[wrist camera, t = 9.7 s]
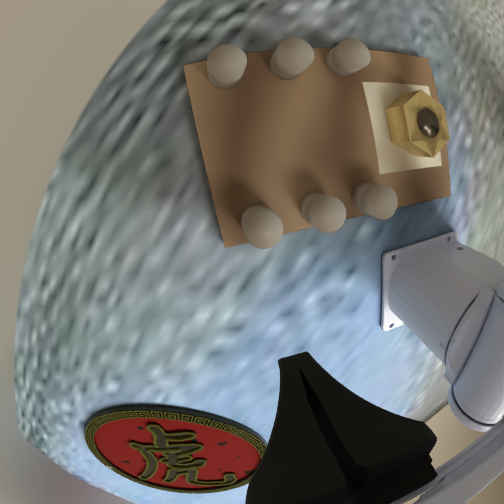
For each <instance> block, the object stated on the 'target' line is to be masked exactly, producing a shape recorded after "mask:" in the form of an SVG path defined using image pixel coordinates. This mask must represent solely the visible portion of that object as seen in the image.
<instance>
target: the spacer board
mask: <svg viewBox="0 0 504 504" xmlns="http://www.w3.org/2000/svg"><path fill="white" fill-rule="evenodd" d="M183 67H184V72H185V77H186V82H187V87H188V92H189V96H190V101H191V106H192V110H193V115H194V120H195V124H196V129H197V133H198V138H199V142H200V146H201V151H202V155H203V159H204V164H205V168H206V172H207V177H208V181H209V185H210V189H211V193H212V197H213V202H214V206H215V210H216V214H217V218H218V222H219V226H220V230H221V234H222V238H223V242H224V246H225V248H227V247H231V246H235V245H239V244H243V243H247V242H249V243H250V244H251V245H253V246H255V247H257V248H261V249H266V248H270V247H272V246H274V245H275V244H277V243H278V242H279V240H280V239H281V237H282V234H285V233H289V232H294V231H298V230H302V229H306V228H311V227H315V228H317V229H318V230H320V231H321V232H324V233H332V232H335V231H337V230H338V229H340V228H341V227H342V225H343V224H344V222H345V219H350V218H354V217H358V216H363V215H367V214H368V215H371V216H373V217H375V218H378V219H381V220H386V219H389V218H390V217H391V216H393V214H394V213H395V211H396V209H397V208H398V207H403V206H407V205H412V204H416V203H421V202H425V201H430V200H434V199H439V198H444V197H448V196H451V193H450V175H449V163H448V154H447V145H446V144H445V145H444V147H443V148H442V149H441V150H440V151H439V152H438V153H437V155H436V156H435V157H434V158H431V157H417V156H413V155H411V154H410V153H408V152H406V151H405V150H403V149H401V148H400V147H398V146H396V145H395V144H393V143H391V141H390V135H389V130H388V125H387V120H386V115H385V110H384V109H385V108H387V107H388V106H389V105H390V104H391V103H392V102H394V101H395V100H396V99H397V98H398V97H399V96H401V95H402V94H404V93H408V92H412V91H417V90H423V91H424V92H425V93H427V94H428V95H429V96H431V97H432V98H433V99H434V100H436V101H437V102H438V103H439V99H438V95H437V90H436V86H435V82H434V78H433V75H432V71H431V68H430V64H429V61H428V58H423V57H418V56H413V55H407V54H400V53H393V52H385V51H375V50H368V48H367V47H366V46H365V45H364V44H363V43H362V42H361V41H359V40H357V39H354V38H346V39H344V40H343V41H342V42H340V43H339V44H338V45H337V46H336V47H334V48H312V47H311V46H310V45H309V44H308V43H307V42H306V41H304V40H302V39H300V38H296V37H290V38H286V39H284V40H282V41H281V42H280V43H279V45H278V47H277V48H276V50H271V51H261V52H253V53H246V54H245V53H244V51H243V50H242V49H240V48H239V47H237V46H234V45H230V44H225V45H220V46H217V47H215V48H214V49H213V50H212V51H211V52H210V53H209V55H208V57H207V60H206V61H201V62H197V63H192V64H188V65H184V66H183Z"/></svg>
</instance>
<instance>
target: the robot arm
mask: <svg viewBox="0 0 504 504" xmlns="http://www.w3.org/2000/svg"><path fill="white" fill-rule="evenodd" d="M447 239H448V240H447ZM393 255H394V257H393V259H392V256H393ZM382 268H383V291H382V321H381V329H382V330H383V331H388V330H391V329H393V328H395V327H398V326H400V325H403V324H405V325H406V326H407V327H408V328H409V329H410V330H411V331H412V332H413V333H414V334H415V335H416V336H417V337H418V338H419V339H420V340H421V341H422V342H423V343H424V344H425V345H426V346H427V347H428V348H429V349H430V350H431V351H432V352H433V353H434V354H435V355H436V356H437V357H438V358H439V359H440V360H441V361H442V362H443V363H444V364H445V365H446V371H445V373H444V377H445V378H446V379H447V381H448V382H449V383H450V384H451V385H450V387H449V390H448V402H449V405H450V408H451V410H452V412H453V413H454V415H455V416H456V417H457V419H458V420H459V421H460V422H461V423H463V424H464V425H465V426H467V427H469V428H471V429H473V430H476V431H481V432H486V433H485V434H483V435H482V436H481V437H480V438H478V439H477V440H476V441H475V442H474V443H472V444H471V445H470V446H468V447H467V448H466V449H464V450H463V451H462V452H460V453H459V454H457V455H456V456H455V457H453V458H452V459H450V460H449V461H447V462H446V463H444V464H443V465H441V466H440V467H438V468H436V469H434V467H433V466H432V465H431V462H432V459H431V457H430V455H429V453H430V452H431V450H432V449H433V447H434V445H435V444H436V441H437V437H436V436H435V434H434V433H433V432H432V430H431V429H430V428H429V427H428V426H427V425H426V424H425V423H424V422H421V421H417V420H413V419H409V418H406V417H403V416H400V415H397V414H394V413H391V412H389V411H387V410H385V409H382V408H380V407H378V406H376V405H374V404H372V403H370V402H368V401H366V400H364V399H363V398H361V397H359V396H358V395H356V394H355V393H353V392H352V391H350V390H349V389H347V388H346V387H345V386H343V385H342V384H341V383H339V382H338V381H337V380H336V379H335V378H333V377H332V376H331V375H330V374H329V373H328V372H327V371H325V370H324V369H323V368H322V367H321V366H320V365H319V364H318V363H317V362H316V361H315V359H314V358H313V357H312V356H311V355H310V354H309V353H308V352H303V353H299V354H296V355H292V356H288V357H285V358H281V359H279V360H278V364H279V369H280V392H279V401H278V407H277V413H276V418H275V422H274V426H273V429H272V433H271V436H270V439H269V442H268V444H267V447H266V449H265V452H264V454H263V456H262V459H261V461H260V463H259V465H258V467H257V469H256V471H255V473H254V474H253V476H252V478H251V480H250V482H249V486H248V490H247V495H246V504H403V503H405V502H407V501H409V500H411V499H413V498H414V497H416V496H418V495H420V494H422V493H423V492H425V491H427V490H428V489H430V488H431V489H430V490H428V491H427V492H425V493H424V494H422V495H421V496H420V498H419V499H418V500H417V501H416V502H415V503H413V504H465V503H467V502H468V501H469V500H470V499H472V498H473V497H474V496H476V495H477V494H478V493H479V492H481V491H482V490H483V489H484V488H485V487H486V486H487V485H489V484H490V483H491V482H492V481H493V480H494V479H495V478H497V477H498V476H499V475H500V474H501V473H502V472H503V471H504V267H503V266H502V265H501V264H500V263H499V262H498V261H496V260H495V259H493V258H491V257H489V256H487V255H485V254H482V253H480V252H478V251H476V250H474V249H472V248H470V247H468V246H466V245H463V244H461V243H459V242H458V233H457V232H455V231H453V232H450V233H447V234H444V235H441V236H438V237H434V238H431V239H428V240H425V241H422V242H419V243H416V244H412V245H409V246H406V247H403V248H399V249H396V250H393V251H390V252H387V253H385V254H384V255H383V258H382ZM391 323H392V324H391ZM390 324H391V325H390ZM433 486H434V487H433ZM432 487H433V488H432Z"/></svg>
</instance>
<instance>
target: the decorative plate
mask: <svg viewBox="0 0 504 504" xmlns="http://www.w3.org/2000/svg"><path fill="white" fill-rule="evenodd" d="M84 435H85V440H86V443H87V445H88V447H89V449H90V451H91V452H92V453H93V454H94V456H95V457H96V458H97V459H98V460H100V462H102V463H103V464H104V465H105V466H107V467H108V468H109V469H111V470H113V471H114V472H116V473H117V474H120V475H121V476H123V477H125V478H127V479H129V480H132V481H134V482H137V483H139V484H142V485H145V486H148V487H152V488H156V489H160V490H166V491H171V492H179V493H212V492H213V493H214V492H221V491H226V490H230V489H234V488H238V487H241V486H243V485H246V484H248V483H249V482H250V480H251V478H252V476H253V474H254V473H255V471H256V469H257V467H258V465H259V463H260V461H261V459H262V456H263V454H264V452H265V449H266V447H267V442H266V441H265V440H264V438H263V437H262V436H260V435H259V434H258V433H256V432H255V431H253V430H252V429H250V428H248V427H246V426H244V425H242V424H240V423H238V422H235V421H233V420H230V419H227V418H224V417H221V416H217V415H214V414H210V413H206V412H201V411H196V410H191V409H185V408H179V407H171V406H161V405H124V406H117V407H112V408H108V409H105V410H102V411H100V412H98V413H96V414H95V415H93V416H92V417H91V418H90V419H89V421H88V422H87V425H86V428H85V432H84Z"/></svg>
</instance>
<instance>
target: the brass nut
mask: <svg viewBox="0 0 504 504" xmlns="http://www.w3.org/2000/svg"><path fill="white" fill-rule="evenodd" d="M384 110H385V115H386V120H387V125H388V130H389V135H390V141H391V143H393V144H395V145H396V146H398V147H400V148H401V149H403V150H405V151H406V152H408V153H410V154H411V155H413V156H417V157H431V158H434V157H435V156H436V155H437V153H438V152H439V151H440V150H441V149H442V148H443V147H444V145H445V144H446V143H447V142H448V141H449V140H450V139H449V132H448V126H447V120H446V115H445V110H444V107H443V106H442V105H441V104H439V103H438V102H437V101H436V100H434V99H433V98H432V97H431V96H429V95H428V94H427V93H425V92H424V91H423V90H417V91H412V92H408V93H404V94H402V95H401V96H399V97H398V98H397V99H396V100H395V101H394V102H392V103H391V104H390V105H389V106H388V107H387V108H385V109H384Z"/></svg>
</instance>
